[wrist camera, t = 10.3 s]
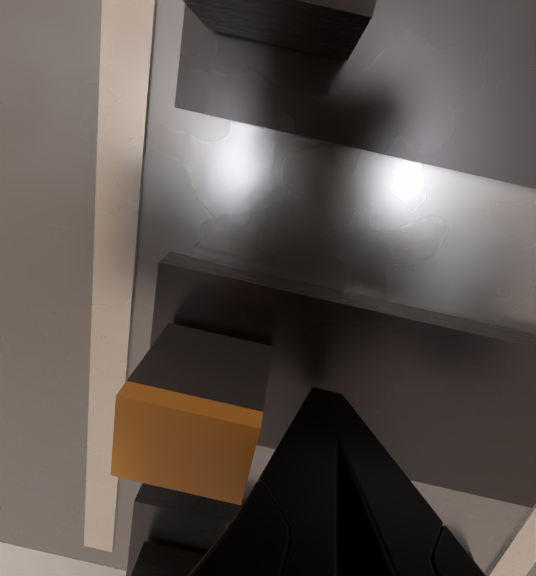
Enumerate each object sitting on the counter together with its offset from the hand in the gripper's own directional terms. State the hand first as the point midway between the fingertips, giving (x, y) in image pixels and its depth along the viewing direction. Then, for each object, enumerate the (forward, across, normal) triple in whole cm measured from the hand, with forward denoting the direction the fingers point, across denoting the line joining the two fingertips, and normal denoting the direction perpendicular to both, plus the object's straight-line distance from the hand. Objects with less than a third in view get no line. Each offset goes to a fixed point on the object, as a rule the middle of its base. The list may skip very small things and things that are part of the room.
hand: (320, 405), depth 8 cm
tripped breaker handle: (0, +2, 0) cm, 3 cm away
